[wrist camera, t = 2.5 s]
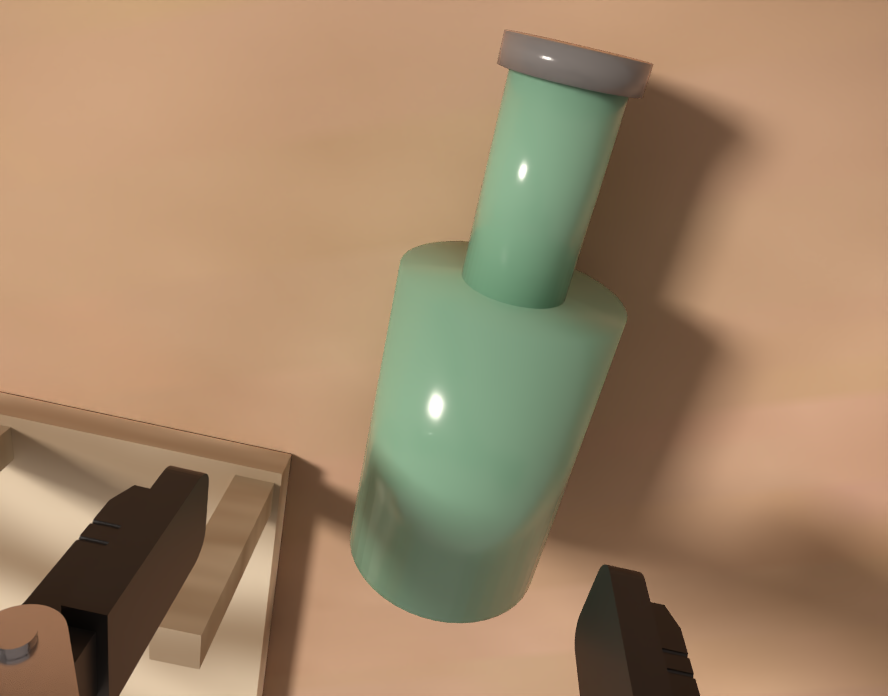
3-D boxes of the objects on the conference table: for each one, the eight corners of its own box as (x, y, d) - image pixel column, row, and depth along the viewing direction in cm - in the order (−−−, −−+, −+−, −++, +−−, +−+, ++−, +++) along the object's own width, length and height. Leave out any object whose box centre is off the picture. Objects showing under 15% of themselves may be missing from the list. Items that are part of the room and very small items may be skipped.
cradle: (-15, 388, 21) (-216, 537, 15) (291, 454, 21) (210, 625, 15) (22, 663, 27) (-112, 846, 21) (260, 712, 27) (193, 905, 21)
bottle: (403, 5, 14) (537, 44, 10) (602, 48, 16) (775, 94, 12) (326, 496, 20) (390, 645, 16) (480, 473, 22) (569, 598, 18)
